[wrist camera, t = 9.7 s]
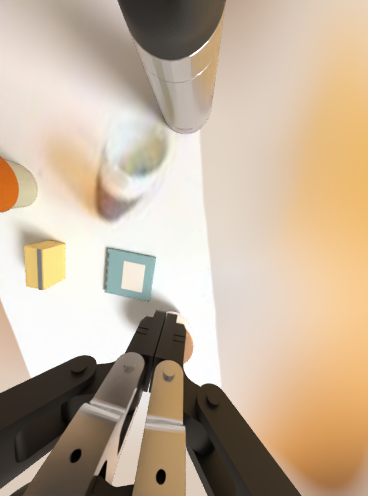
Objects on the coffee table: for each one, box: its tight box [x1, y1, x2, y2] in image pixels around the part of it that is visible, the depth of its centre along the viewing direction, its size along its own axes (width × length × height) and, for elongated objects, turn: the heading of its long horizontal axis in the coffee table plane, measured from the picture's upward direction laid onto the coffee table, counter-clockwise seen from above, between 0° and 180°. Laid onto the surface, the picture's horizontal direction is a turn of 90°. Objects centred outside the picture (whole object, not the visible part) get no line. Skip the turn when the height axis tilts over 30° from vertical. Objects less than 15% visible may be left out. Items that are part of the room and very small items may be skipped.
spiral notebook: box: [105, 248, 156, 301], centre depth 40 cm, size 11×11×1 cm
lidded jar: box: [166, 311, 193, 364], centre depth 39 cm, size 11×11×9 cm
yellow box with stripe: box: [24, 240, 65, 290], centre depth 39 cm, size 9×4×6 cm, turn 170°
